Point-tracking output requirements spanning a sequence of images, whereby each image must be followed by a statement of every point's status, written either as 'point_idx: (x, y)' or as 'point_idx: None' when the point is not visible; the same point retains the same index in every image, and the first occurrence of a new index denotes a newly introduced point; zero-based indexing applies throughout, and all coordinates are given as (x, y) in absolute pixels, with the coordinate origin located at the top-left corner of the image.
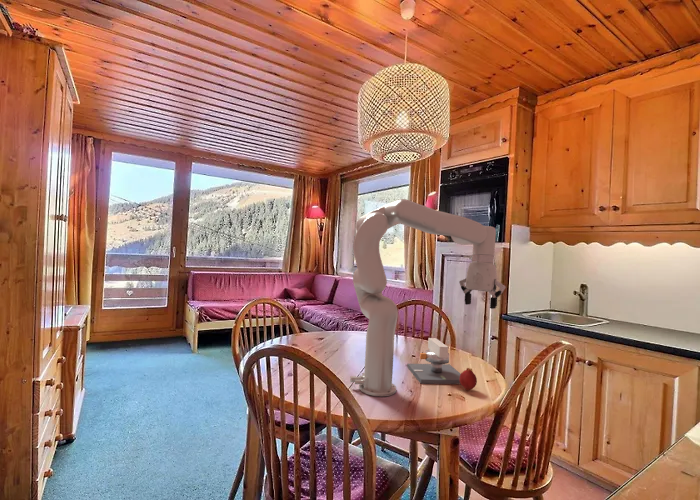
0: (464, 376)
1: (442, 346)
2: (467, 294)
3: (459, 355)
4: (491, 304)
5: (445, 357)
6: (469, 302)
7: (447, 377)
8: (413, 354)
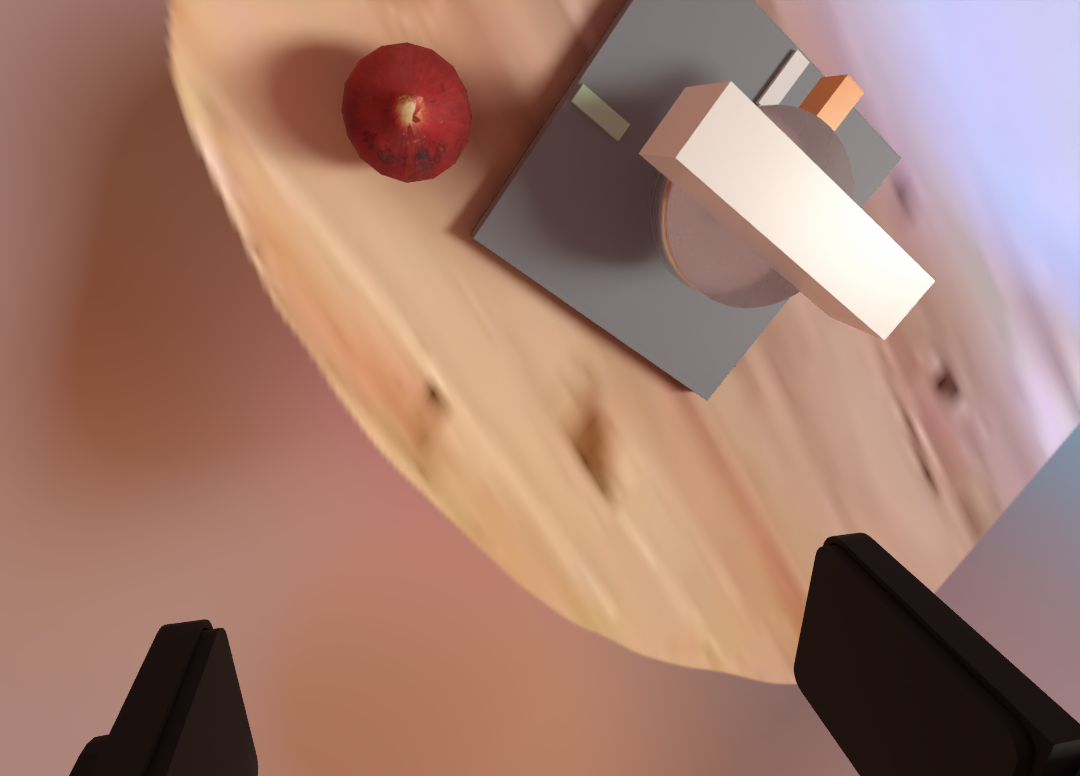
0: (406, 52)
1: (719, 120)
2: (1021, 750)
3: (761, 626)
4: (135, 702)
5: (651, 137)
6: (822, 658)
7: (586, 152)
8: (957, 408)
